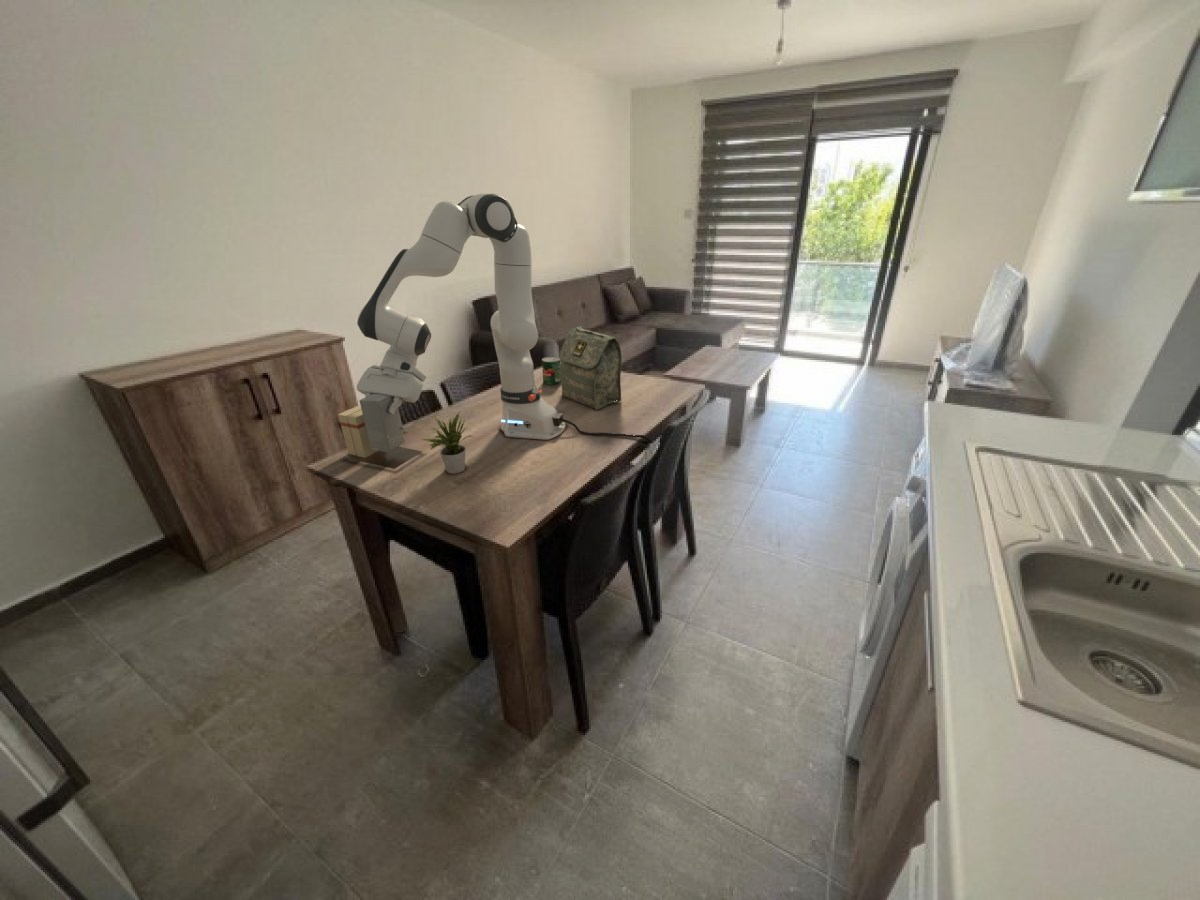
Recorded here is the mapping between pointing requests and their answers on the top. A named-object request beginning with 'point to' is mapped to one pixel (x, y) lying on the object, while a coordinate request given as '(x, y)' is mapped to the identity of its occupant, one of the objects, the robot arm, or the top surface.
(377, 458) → the brown flat rectangular panel
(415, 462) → the top surface
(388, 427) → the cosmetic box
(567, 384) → the lunch bag
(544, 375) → the canned tomato
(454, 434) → the house plant
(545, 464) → the top surface
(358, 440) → the cream boxes
